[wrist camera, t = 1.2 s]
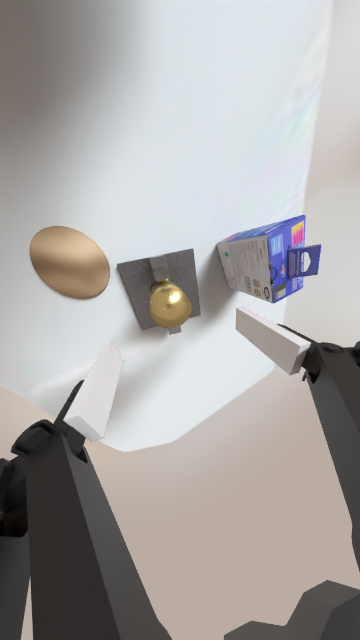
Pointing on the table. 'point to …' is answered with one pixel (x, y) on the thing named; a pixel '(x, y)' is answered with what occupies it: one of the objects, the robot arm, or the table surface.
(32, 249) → the coaster
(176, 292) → the bell
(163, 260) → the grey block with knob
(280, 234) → the ink cartridge box
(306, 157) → the table surface
